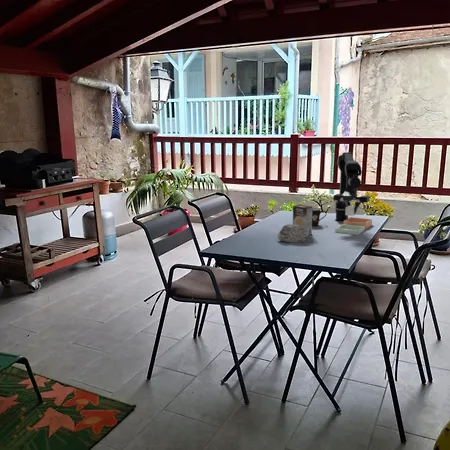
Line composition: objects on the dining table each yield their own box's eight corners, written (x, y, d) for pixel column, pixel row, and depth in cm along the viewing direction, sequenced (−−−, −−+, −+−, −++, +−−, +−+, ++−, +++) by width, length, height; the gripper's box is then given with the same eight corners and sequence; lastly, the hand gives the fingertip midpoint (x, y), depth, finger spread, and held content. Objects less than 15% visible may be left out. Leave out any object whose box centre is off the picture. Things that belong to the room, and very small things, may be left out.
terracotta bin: (343, 227, 268) (343, 220, 267) (350, 223, 278) (350, 217, 277) (365, 230, 261) (366, 223, 260) (371, 225, 271) (372, 219, 270)
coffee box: (291, 234, 256) (292, 206, 252) (298, 232, 260) (298, 204, 257) (306, 237, 250) (306, 207, 246) (312, 234, 254) (313, 206, 250)
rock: (311, 240, 241) (308, 221, 240) (305, 243, 234) (302, 224, 233) (283, 242, 249) (280, 224, 248) (277, 245, 242) (274, 226, 241)
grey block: (345, 215, 255) (345, 207, 254) (348, 213, 259) (348, 205, 258) (353, 215, 253) (353, 207, 252) (355, 214, 257) (356, 206, 256)
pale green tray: (335, 232, 257) (335, 228, 256) (342, 228, 267) (342, 224, 266) (358, 235, 250) (358, 231, 249) (364, 230, 260) (364, 226, 259)
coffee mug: (304, 226, 274) (304, 209, 272) (307, 223, 282) (307, 207, 279) (323, 227, 269) (324, 210, 267) (326, 224, 277) (327, 208, 275)
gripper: (330, 186, 251) (329, 214, 254) (364, 188, 241) (363, 217, 244) (337, 183, 260) (336, 211, 263) (370, 185, 250) (369, 213, 253)
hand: (350, 213), depth 256 cm, fingers closed on grey block, 4 cm apart
